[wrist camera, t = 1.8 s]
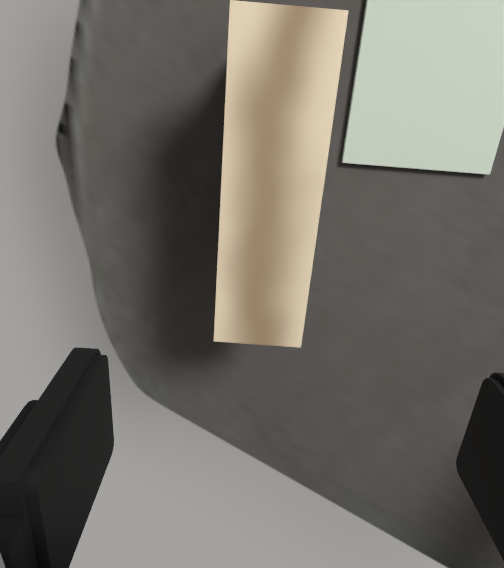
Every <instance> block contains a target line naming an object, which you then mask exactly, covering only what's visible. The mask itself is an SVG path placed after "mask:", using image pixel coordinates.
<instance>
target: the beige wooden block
mask: <svg viewBox="0 0 504 568" xmlns="http://www.w3.org/2000/svg"><path fill="white" fill-rule="evenodd" d="M347 17H348V11H347V10H336V9H325V8H313V7H302V6H290V5H279V4H268V3H256V2H245V1H234V0H230V13H229V33H228V54H227V75H226V96H225V116H224V137H223V158H222V179H221V199H220V220H219V241H218V261H217V282H216V303H215V324H214V341H215V342H230V343H244V344H259V345H273V346H288V347H301V343H302V336H303V329H304V322H305V315H306V308H307V301H308V293H309V286H310V279H311V272H312V265H313V258H314V251H315V244H316V237H317V230H318V223H319V216H320V208H321V201H322V194H323V187H324V180H325V173H326V166H327V159H328V152H329V145H330V138H331V131H332V123H333V116H334V109H335V102H336V95H337V88H338V81H339V74H340V67H341V60H342V53H343V46H344V38H345V31H346V24H347Z"/></svg>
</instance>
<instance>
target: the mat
mask: <svg viewBox="0 0 504 568" xmlns="http://www.w3.org/2000/svg"><path fill="white" fill-rule="evenodd" d="M503 127H504V0H366V6H365V12H364V19H363V25H362V32H361V38H360V45H359V51H358V58H357V64H356V71H355V77H354V84H353V90H352V97H351V103H350V110H349V116H348V123H347V129H346V136H345V142H344V149H343V155H342V163H351V164H364V165H377V166H389V167H402V168H414V169H427V170H439V171H452V172H464V173H477V174H490V172H491V169H492V165H493V162H494V158H495V155H496V151H497V148H498V144H499V141H500V137H501V134H502V131H503Z"/></svg>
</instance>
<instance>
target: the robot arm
mask: <svg viewBox="0 0 504 568" xmlns="http://www.w3.org/2000/svg"><path fill="white" fill-rule="evenodd" d="M113 446H114V436H113V421H112V408H111V394H110V381H109V367H108V358H107V356H106V355H101V353H100V351H99V349H91V348H74V349H73V350H72V351H71V353H70V354H69V356H68V357H67V358H66V360H65V362H64V363H63V364H62V366H61V367H60V369H59V370H58V372H57V373H56V375H55V376H54V378H53V379H52V381H51V382H50V384H49V385H48V386H47V388H46V389H45V391H44V392H43V394H42V395H41V397H40V398H39V400H32V401H30V402H28V403H27V404H26V406H25V407H24V408H23V409H22V411H21V412H20V414H19V415H18V417H17V418H16V419H15V421H14V422H13V424H12V425H11V427H10V428H9V429H8V431H7V432H6V433H5V435H4V436H3V438H2V439H1V441H0V568H69V565H70V563H71V560H72V558H73V555H74V552H75V550H76V547H77V545H78V542H79V539H80V537H81V534H82V531H83V529H84V526H85V523H86V521H87V518H88V516H89V513H90V510H91V508H92V505H93V502H94V500H95V497H96V494H97V492H98V489H99V487H100V484H101V481H102V479H103V476H104V474H105V470H106V468H107V465H108V463H109V460H110V457H111V455H112V451H113ZM456 466H457V471H458V474H459V476H460V478H461V480H462V482H463V484H464V486H465V488H466V489H467V491H468V493H469V495H470V497H471V499H472V501H473V503H474V505H475V507H476V509H477V511H478V512H479V514H480V516H481V518H482V520H483V522H484V524H485V526H486V528H487V530H488V532H489V533H490V535H491V537H492V539H493V541H494V543H495V545H496V547H497V549H498V551H499V553H500V555H501V556H502V558H503V560H504V373H493V374H492V375H491V376H490V377H489V378H486V379H485V380H484V381H483V383H482V385H481V388H480V391H479V394H478V397H477V400H476V403H475V406H474V409H473V412H472V415H471V418H470V421H469V424H468V427H467V429H466V432H465V435H464V438H463V441H462V444H461V447H460V450H459V453H458V456H457V460H456Z"/></svg>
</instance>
